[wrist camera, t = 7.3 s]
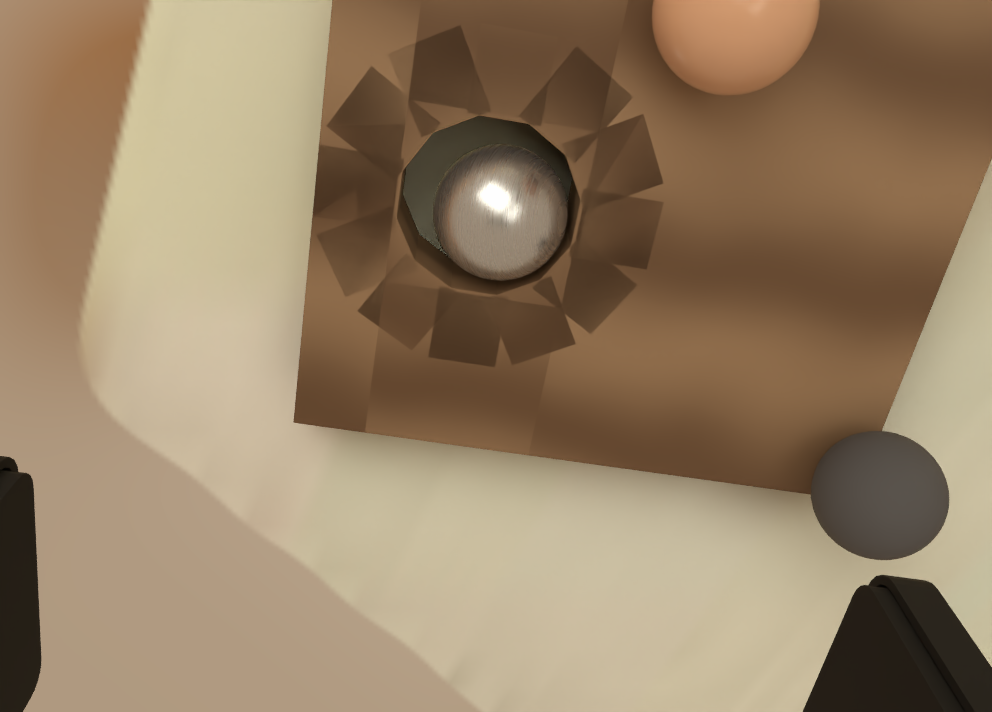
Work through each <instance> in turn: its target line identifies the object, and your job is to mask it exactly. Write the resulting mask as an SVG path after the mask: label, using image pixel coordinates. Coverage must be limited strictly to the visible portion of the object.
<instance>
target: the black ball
mask: <svg viewBox="0 0 992 712" xmlns="http://www.w3.org/2000/svg"><path fill="white" fill-rule="evenodd" d="M811 500H812V505H813V509H814V512H815V515H816V517H817V519H818V521H819V523H820V525H821V527H822V528H823V529H824V531H825V532H826V533H827V534H828V536H829V537H830V538H831V539H833V540H834V541H835V542H836V543H837V544H838V545H840V546H841V547H843V548H844V549H846V550H847V551H849V552H851V553H854V554H856V555H859V556H862V557H865V558H870V559H876V560H892V559H898V558H903V557H906V556H909V555H912V554H914V553H916V552H918V551H919V550H921V549H923V548H924V547H925V546H927V545H928V544H929V543H930V542H931V541H932V540H933V539H934V538H935V537H936V536H937V534H938V533H939V531H940V530H941V528H942V526H943V525H944V522H945V519H946V517H947V513H948V509H949V490H948V485H947V482H946V478H945V476H944V474H943V472H942V469H941V467H940V466H939V465H938V463H937V462H936V460H935V459H934V457H933V456H932V455H931V454H930V453H929V452H928V451H927V450H925V449H924V448H923V447H922V446H920V445H919V444H918V443H916V442H914V441H913V440H911V439H909V438H907V437H904V436H901V435H898V434H895V433H891V432H884V431H868V432H862V433H857V434H854V435H851V436H848V437H846V438H844V439H842V440H841V441H839V442H837V443H836V444H835V445H833V446H832V447H831V448H830V449H829V450H828V451H827V452H826V453H825V454H824V456H823V457H822V458H821V460H820V461H819V463H818V465H817V467H816V469H815V472H814V475H813V478H812V484H811Z"/></svg>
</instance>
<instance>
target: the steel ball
mask: <svg viewBox="0 0 992 712" xmlns="http://www.w3.org/2000/svg"><path fill="white" fill-rule="evenodd" d="M567 219H568V205H567V199H566V195H565V191H564V188H563V186H562V184H561V181H560V179H559V178H558V176H557V175H556V173H555V172H554V170H553V169H552V168H551V167H550V166H549V164H548V163H546V162H545V161H544V160H543V159H542V158H541V157H539V156H538V155H536V154H534V153H533V152H531V151H529V150H527V149H524V148H521V147H518V146H514V145H507V144H494V145H487V146H483V147H480V148H477V149H474V150H472V151H470V152H468V153H466V154H465V155H463V156H462V157H460V158H459V159H458V160H457V161H456V162H454V163H453V164H452V165H451V166H450V168H449V169H448V170H447V171H446V173H445V174H444V176H443V177H442V179H441V181H440V183H439V185H438V188H437V190H436V194H435V198H434V204H433V221H434V227H435V231H436V234H437V237H438V240H439V242H440V244H441V245H442V247H443V249H444V251H445V252H446V253H447V255H448V256H449V257H450V258H451V259H452V260H453V261H454V262H455V263H456V264H457V265H458V266H459V267H461V268H462V269H464V270H465V271H467V272H469V273H471V274H473V275H475V276H478V277H480V278H484V279H489V280H498V281H502V280H512V279H517V278H520V277H523V276H526V275H528V274H530V273H532V272H534V271H536V270H537V269H539V268H540V267H541V266H543V265H544V264H545V263H546V262H547V261H548V260H549V259H550V258H551V257H552V256H553V254H554V253H555V252H556V250H557V249H558V247H559V245H560V243H561V241H562V239H563V237H564V234H565V230H566V225H567Z"/></svg>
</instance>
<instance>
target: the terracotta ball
mask: <svg viewBox="0 0 992 712" xmlns="http://www.w3.org/2000/svg"><path fill="white" fill-rule="evenodd" d="M819 9H820V0H653V5H652V28H653V33H654V38H655V42H656V44H657V47H658V50H659V52H660V54H661V56H662V58H663V59H664V61H665V62H666V64H667V65H668V67H669V68H670V69H671V70H672V71H673V72H674V73H675V74H676V76H678V77H679V78H680V79H681V80H682V81H684V82H685V83H687V84H688V85H690V86H692V87H694V88H696V89H699V90H701V91H703V92H707V93H710V94H714V95H723V96H730V95H741V94H747V93H751V92H754V91H757V90H760V89H762V88H764V87H767V86H769V85H770V84H772V83H774V82H775V81H777V80H778V79H780V78H781V77H782V76H784V75H785V74H786V73H787V72H788V71H789V70H790V69H791V68H792V67H793V66H794V65H795V64H796V63H797V62H798V60H799V59H800V58H801V57H802V55H803V54H804V52H805V51H806V49H807V47H808V45H809V43H810V41H811V40H812V37H813V35H814V32H815V29H816V26H817V21H818V17H819Z"/></svg>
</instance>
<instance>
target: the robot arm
mask: <svg viewBox="0 0 992 712" xmlns="http://www.w3.org/2000/svg"><path fill="white" fill-rule="evenodd" d="M40 668H41V642H40V620H39V599H38V577H37V555H36V533H35V512H34V488H33V480H32V478H31V476H30V475H29V474H27V473H20V472H18V467H17V464H16V463H15V460H14V459H12V458H10V457H4V456H0V712H23V710H24V709H25V707H26V705H27V703H28V701H29V700H30V698H31V696H32V694H33V692H34V690H35V687H36V684H37V681H38V678H39V674H40ZM803 712H992V667H991V666H990V664H989V663H988V661H987V660H986V658H985V657H984V656H983V654H982V653H981V651H980V650H979V648H978V647H977V645H976V644H975V643H974V641H973V640H972V638H971V637H970V635H969V634H968V632H967V631H966V629H965V628H964V627H963V625H962V624H961V622H960V621H959V619H958V618H957V616H956V615H955V614H954V612H953V611H952V609H951V608H950V606H949V605H948V603H947V602H946V601H945V599H944V598H943V596H942V595H941V593H940V592H939V590H938V589H937V588H936V587H935V586H934V585H933V584H932V583H930V582H928V581H924V580H917V579H909V578H902V577H894V576H887V575H880V576H876V577H875V578H874V579H873V580H871V582H870V584H869V585H863V586H860V587H859V588H858V589H857V590H856V591H855V593H854V595H853V597H852V599H851V602H850V604H849V606H848V608H847V611H846V613H845V615H844V618H843V620H842V622H841V625H840V627H839V629H838V632H837V634H836V636H835V638H834V641H833V643H832V645H831V648H830V650H829V652H828V655H827V657H826V659H825V662H824V664H823V666H822V668H821V671H820V673H819V675H818V678H817V680H816V682H815V685H814V687H813V689H812V692H811V694H810V696H809V698H808V701H807V703H806V705H805V708H804V710H803Z"/></svg>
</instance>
